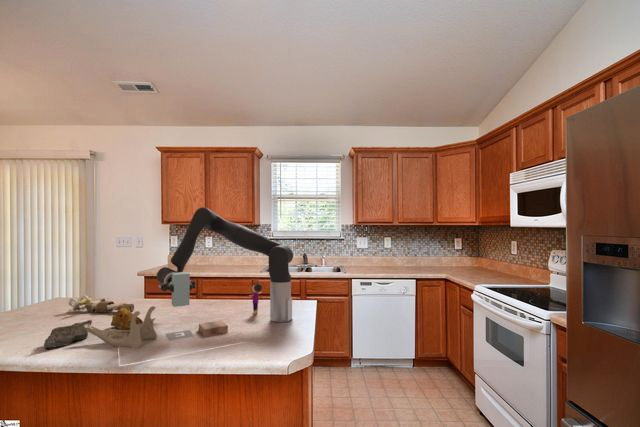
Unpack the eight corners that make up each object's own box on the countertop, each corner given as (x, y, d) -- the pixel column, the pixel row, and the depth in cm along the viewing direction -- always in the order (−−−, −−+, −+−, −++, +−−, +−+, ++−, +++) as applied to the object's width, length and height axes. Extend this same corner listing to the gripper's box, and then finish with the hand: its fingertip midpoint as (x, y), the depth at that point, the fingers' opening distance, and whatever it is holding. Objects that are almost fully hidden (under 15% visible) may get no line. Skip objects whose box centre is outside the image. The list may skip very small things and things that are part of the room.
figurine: (145, 308, 174) (93, 304, 178) (146, 294, 175) (94, 291, 178) (111, 321, 150) (51, 317, 154) (112, 306, 150) (52, 302, 154)
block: (186, 302, 132) (186, 271, 132) (189, 305, 127) (189, 273, 128) (171, 304, 129) (171, 272, 129) (173, 306, 124) (174, 274, 125)
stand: (221, 327, 138) (221, 320, 139) (227, 333, 131) (227, 325, 131) (198, 331, 134) (198, 323, 134) (204, 337, 126) (204, 329, 126)
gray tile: (189, 330, 134) (189, 329, 134) (194, 337, 126) (194, 336, 126) (165, 334, 129) (165, 333, 129) (168, 341, 121) (168, 340, 122)
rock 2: (135, 333, 143) (148, 318, 142) (121, 343, 135) (135, 327, 133) (116, 316, 143) (129, 300, 142) (101, 324, 135) (115, 308, 134)
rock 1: (77, 322, 131) (98, 316, 129) (80, 339, 130) (100, 334, 128) (30, 334, 114) (53, 328, 112) (33, 354, 113) (56, 348, 111)
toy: (258, 311, 165) (259, 280, 166) (268, 312, 163) (268, 281, 163) (245, 316, 156) (245, 284, 156) (254, 317, 153) (255, 284, 154)
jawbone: (158, 339, 124) (156, 303, 123) (141, 351, 114) (138, 312, 113) (97, 338, 127) (94, 303, 126) (75, 350, 117) (72, 312, 116)
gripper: (155, 274, 137) (161, 280, 123) (192, 271, 144) (201, 276, 130) (155, 292, 137) (160, 300, 122) (192, 289, 144) (201, 296, 130)
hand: (181, 288), depth 126 cm, fingers closed on block, 5 cm apart
